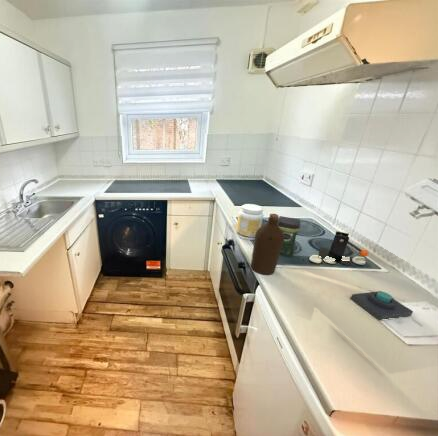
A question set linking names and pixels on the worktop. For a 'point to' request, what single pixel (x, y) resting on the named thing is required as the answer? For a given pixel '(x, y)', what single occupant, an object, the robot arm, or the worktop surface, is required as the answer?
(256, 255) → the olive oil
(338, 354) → the worktop surface
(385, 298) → the button
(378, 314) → the button housing
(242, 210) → the supplement tub
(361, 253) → the switch
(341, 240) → the switch bracket
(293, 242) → the coffee jar
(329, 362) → the worktop surface
